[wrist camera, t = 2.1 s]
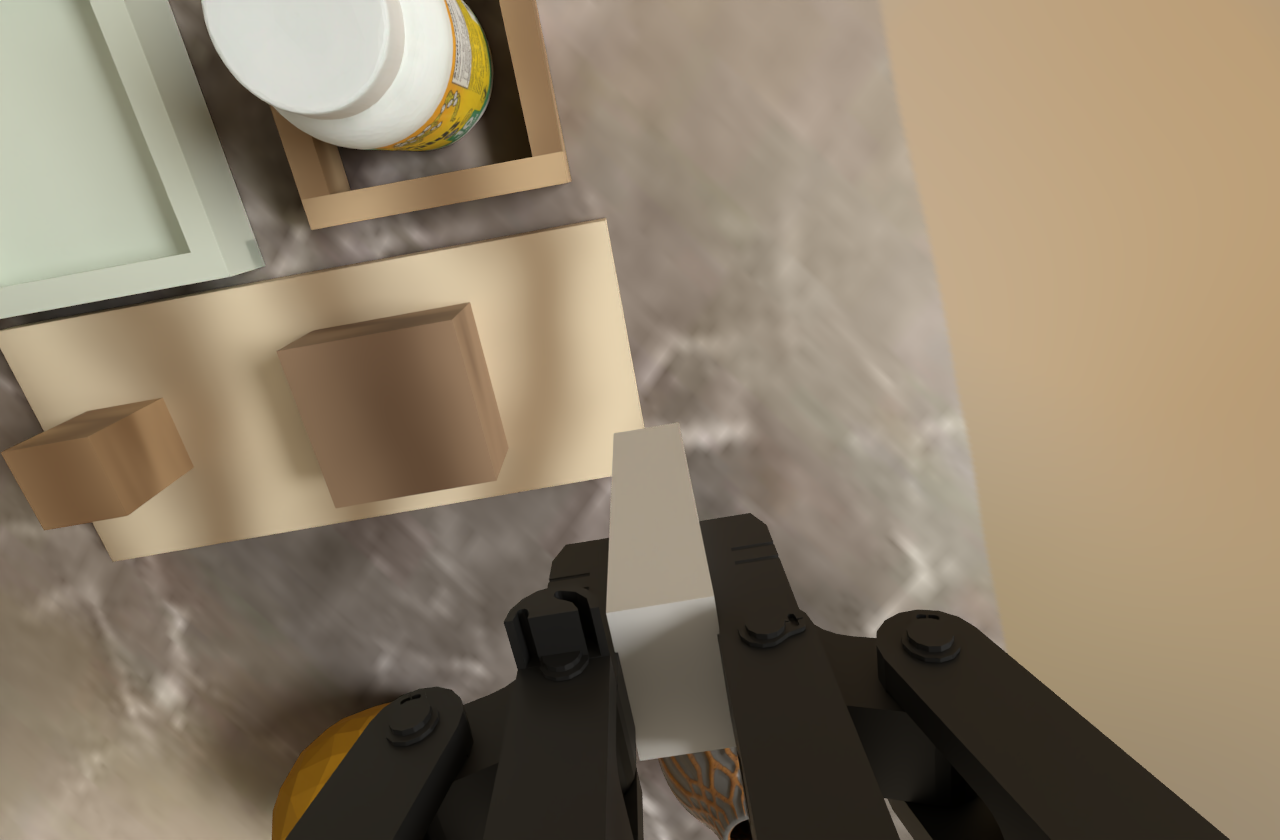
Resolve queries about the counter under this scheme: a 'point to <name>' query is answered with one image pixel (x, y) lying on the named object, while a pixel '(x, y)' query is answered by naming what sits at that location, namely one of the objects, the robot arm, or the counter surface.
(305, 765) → the apple
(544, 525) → the counter surface
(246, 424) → the board
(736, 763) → the vase
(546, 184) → the oak collar
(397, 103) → the supplement bottle
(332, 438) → the walnut block
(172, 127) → the tray
